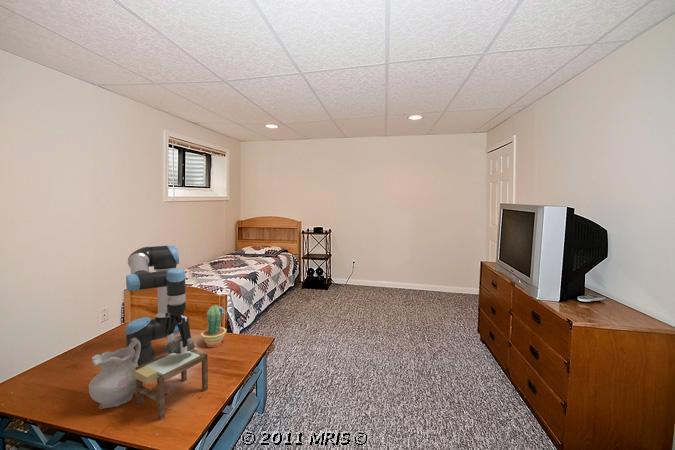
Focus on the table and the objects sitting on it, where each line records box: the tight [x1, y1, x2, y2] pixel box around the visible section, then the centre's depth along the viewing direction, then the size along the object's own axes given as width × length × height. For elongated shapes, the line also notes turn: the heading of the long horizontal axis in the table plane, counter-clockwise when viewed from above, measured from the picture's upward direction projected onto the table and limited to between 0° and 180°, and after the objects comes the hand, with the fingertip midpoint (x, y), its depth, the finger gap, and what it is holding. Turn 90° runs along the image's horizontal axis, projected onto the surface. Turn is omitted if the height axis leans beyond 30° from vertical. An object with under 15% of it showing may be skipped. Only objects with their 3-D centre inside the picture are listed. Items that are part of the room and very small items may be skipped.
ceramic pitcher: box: [88, 337, 141, 410], centre depth 129 cm, size 22×20×25 cm
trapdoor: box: [135, 351, 201, 385], centre depth 128 cm, size 13×23×3 cm, turn 153°
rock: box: [162, 335, 196, 354], centre depth 132 cm, size 13×9×6 cm, turn 148°
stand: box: [135, 348, 209, 421], centre depth 130 cm, size 18×23×18 cm
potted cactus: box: [200, 304, 227, 348], centre depth 182 cm, size 15×15×25 cm
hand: (177, 350), depth 131 cm, fingers closed on rock, 9 cm apart
